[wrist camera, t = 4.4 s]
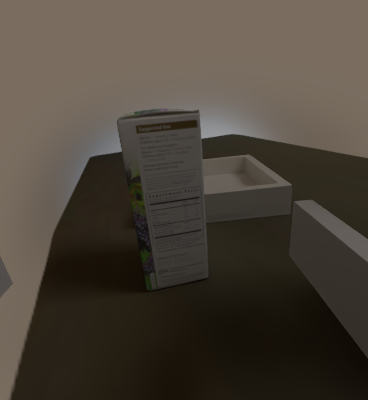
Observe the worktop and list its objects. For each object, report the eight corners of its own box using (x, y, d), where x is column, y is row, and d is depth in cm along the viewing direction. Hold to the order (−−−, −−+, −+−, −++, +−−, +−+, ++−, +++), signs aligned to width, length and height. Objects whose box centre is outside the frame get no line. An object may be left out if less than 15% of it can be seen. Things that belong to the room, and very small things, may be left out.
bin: (249, 174, 48) (249, 154, 46) (289, 214, 31) (292, 185, 29) (159, 184, 48) (156, 164, 46) (151, 228, 31) (147, 200, 29)
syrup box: (144, 255, 26) (117, 113, 20) (197, 245, 27) (185, 105, 21) (147, 293, 21) (110, 116, 15) (212, 279, 21) (202, 106, 16)
